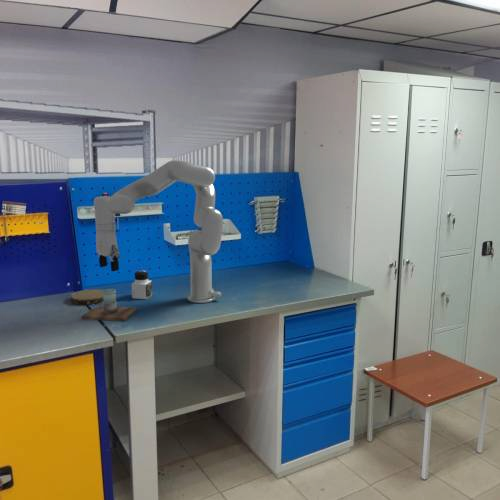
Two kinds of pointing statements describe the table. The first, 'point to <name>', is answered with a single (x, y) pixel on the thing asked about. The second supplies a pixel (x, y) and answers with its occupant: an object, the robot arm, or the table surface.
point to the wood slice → (87, 297)
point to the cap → (109, 296)
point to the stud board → (115, 316)
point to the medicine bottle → (141, 286)
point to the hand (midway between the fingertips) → (109, 268)
